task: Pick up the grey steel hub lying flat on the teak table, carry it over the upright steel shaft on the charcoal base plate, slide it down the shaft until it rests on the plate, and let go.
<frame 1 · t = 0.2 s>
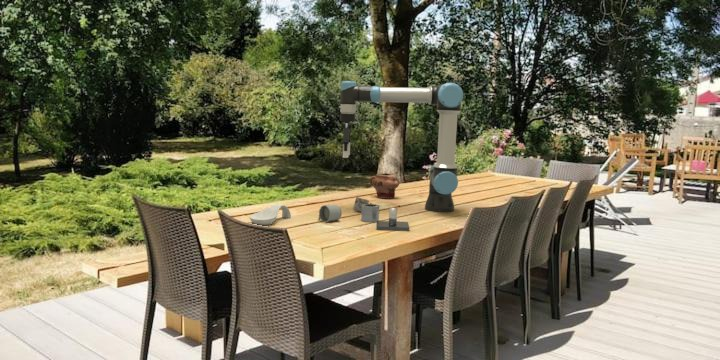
hand: (346, 156, 280), 27 cm above the table, tool pointing down, fingers open, 13 cm apart
caster wheel: (366, 212, 284), on the table
hub: (370, 220, 262), on the table
shaft block: (392, 227, 248), on the table
decorative planter: (383, 197, 330), on the table
ceramic mug: (328, 221, 259), on the table
spoon rest: (271, 222, 253), on the table
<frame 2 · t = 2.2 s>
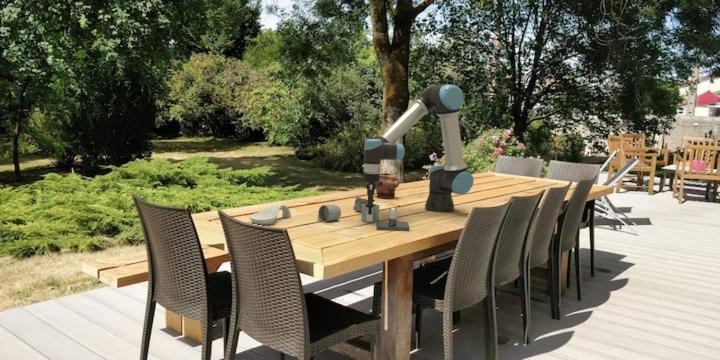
hand: (369, 218, 262), 1 cm above the table, tool pointing down, fingers open, 13 cm apart
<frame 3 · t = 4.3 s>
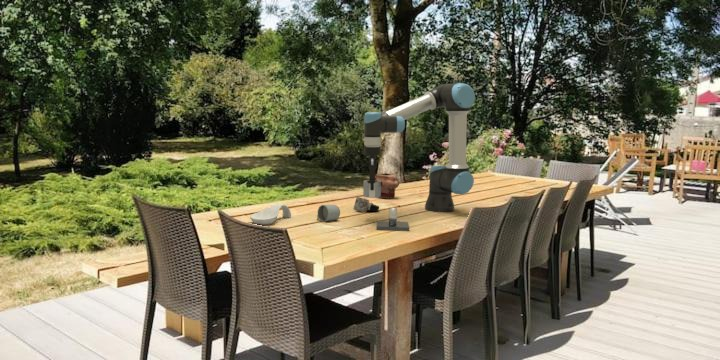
hand: (372, 195, 261), 12 cm above the table, tool pointing down, fingers closed on hub, 8 cm apart
hub: (372, 196, 261), point 11 cm above the table, touching gripper
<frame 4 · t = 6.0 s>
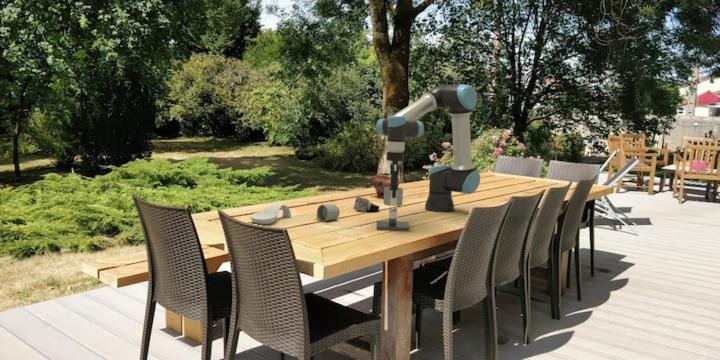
hand: (393, 203, 247), 11 cm above the table, tool pointing down, fingers closed on hub, 8 cm apart
hub: (392, 204, 247), point 10 cm above the table, touching gripper
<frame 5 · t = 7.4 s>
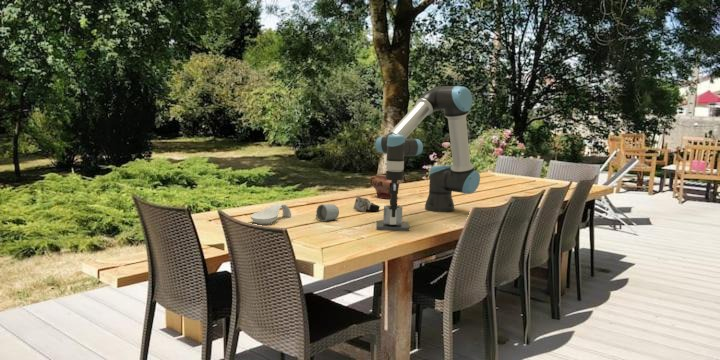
hand: (392, 222, 248), 2 cm above the table, tool pointing down, fingers closed on hub, 8 cm apart
hub: (392, 222, 248), point 2 cm above the table, touching gripper
when the fingers open (2 cm above the table, at t = 8.2 s): hub stays where it is, resting on shaft block.
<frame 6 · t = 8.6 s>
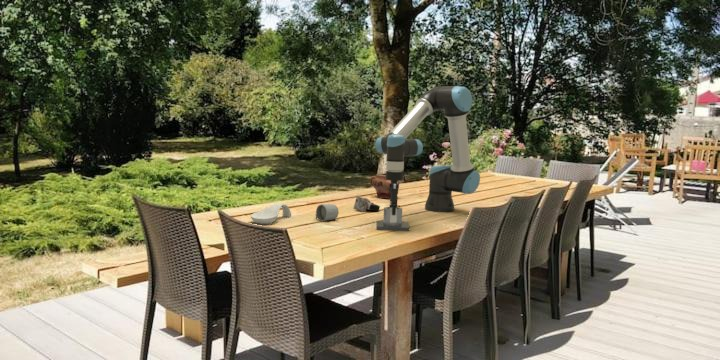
hand: (392, 219, 248), 4 cm above the table, tool pointing down, fingers open, 13 cm apart
hub: (392, 224, 248), point 1 cm above the table, touching shaft block
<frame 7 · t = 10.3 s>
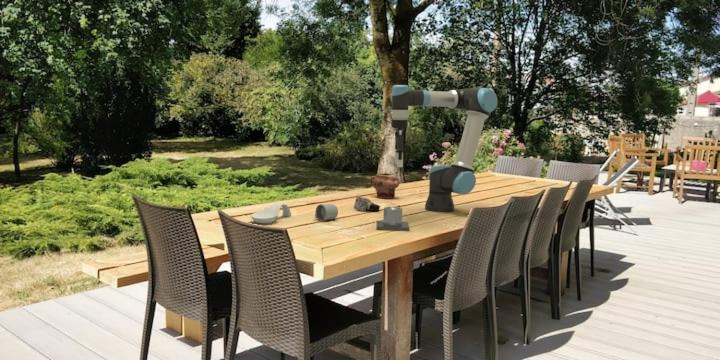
hand: (398, 165, 263), 26 cm above the table, tool pointing down, fingers open, 13 cm apart
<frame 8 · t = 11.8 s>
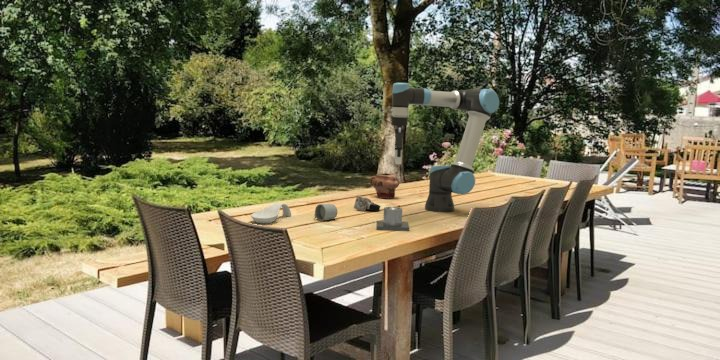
hand: (397, 162, 263), 27 cm above the table, tool pointing down, fingers open, 13 cm apart
at the end: hub 0.1 cm off-centre on the shaft block, point 1.5 cm above the shaft block's base; hub tilted 0°; the gripper is holding nothing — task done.
